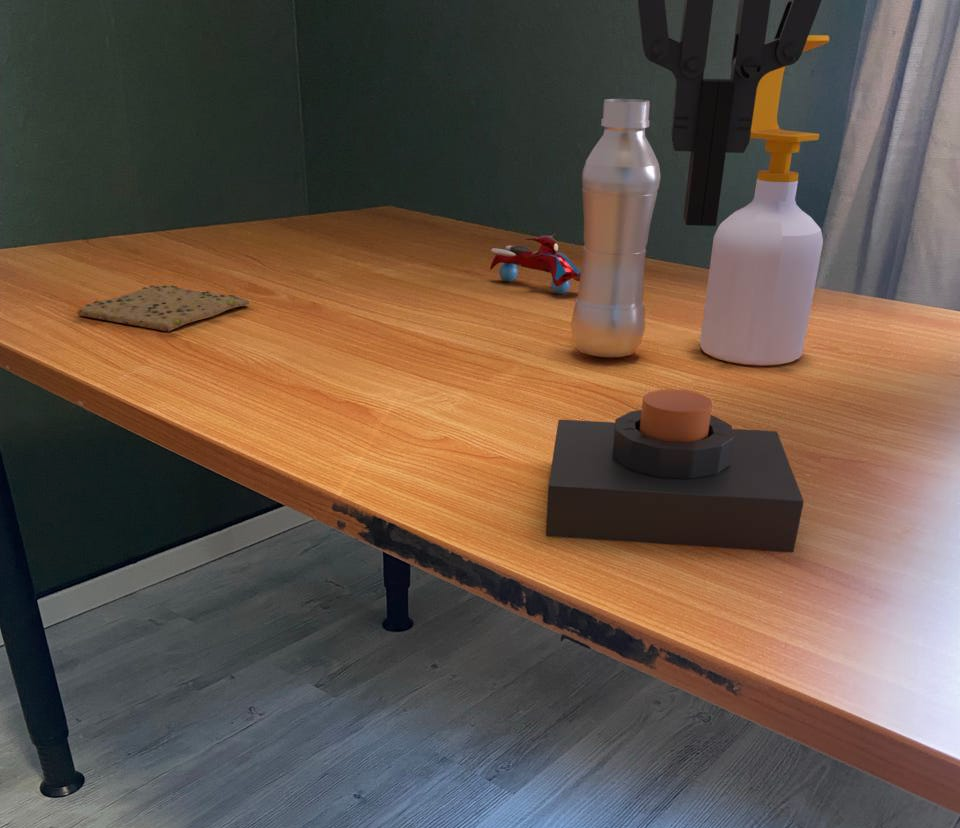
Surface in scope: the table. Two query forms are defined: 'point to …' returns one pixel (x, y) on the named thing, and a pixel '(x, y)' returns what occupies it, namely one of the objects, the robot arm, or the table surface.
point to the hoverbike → (537, 262)
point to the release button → (675, 415)
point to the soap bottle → (764, 253)
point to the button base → (672, 487)
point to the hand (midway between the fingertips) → (699, 220)
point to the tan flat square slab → (161, 307)
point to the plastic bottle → (616, 232)
